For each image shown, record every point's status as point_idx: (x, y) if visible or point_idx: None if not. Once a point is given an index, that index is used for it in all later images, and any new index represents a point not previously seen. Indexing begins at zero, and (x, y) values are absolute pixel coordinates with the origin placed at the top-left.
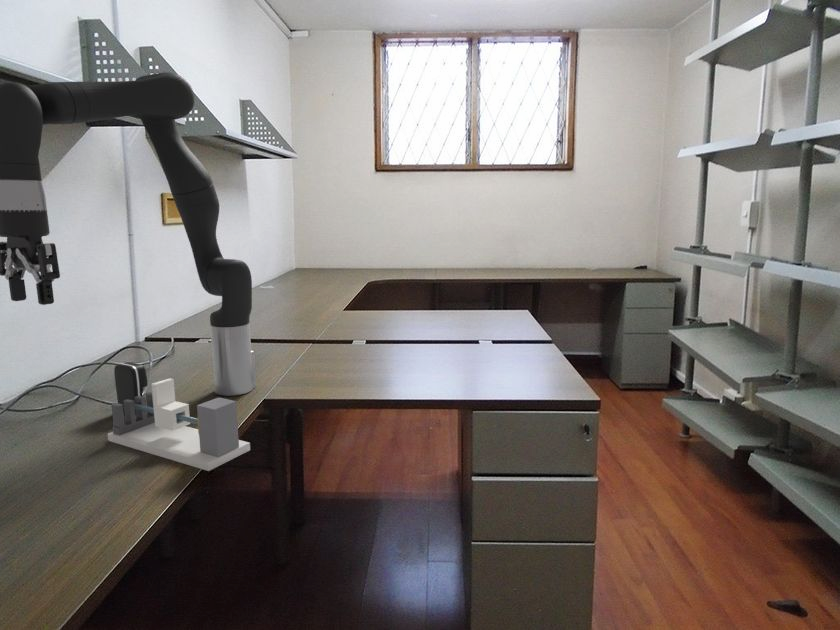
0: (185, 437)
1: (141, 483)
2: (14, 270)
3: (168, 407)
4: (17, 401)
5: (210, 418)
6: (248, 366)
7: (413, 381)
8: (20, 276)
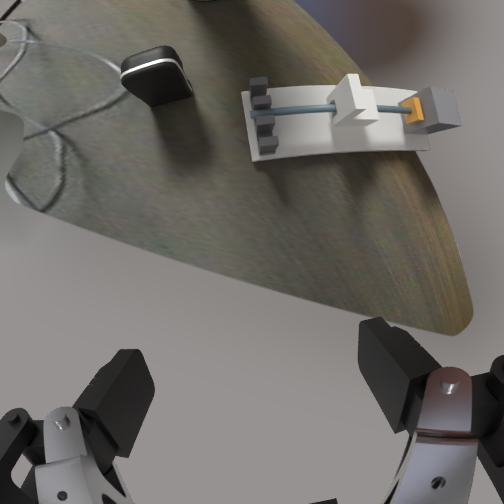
0: None
1: (400, 205)
2: (125, 498)
3: (364, 112)
4: (25, 195)
5: (447, 127)
6: None
7: None
8: (87, 432)
